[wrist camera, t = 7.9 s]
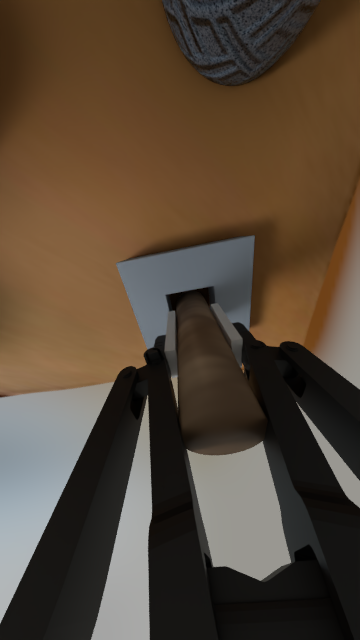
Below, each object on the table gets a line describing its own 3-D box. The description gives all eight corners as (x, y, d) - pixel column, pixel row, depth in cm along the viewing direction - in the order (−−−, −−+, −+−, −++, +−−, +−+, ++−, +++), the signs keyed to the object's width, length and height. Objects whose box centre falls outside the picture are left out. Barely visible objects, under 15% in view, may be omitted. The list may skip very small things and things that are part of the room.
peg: (179, 320, 21) (186, 459, 7) (173, 293, 19) (170, 416, 6) (207, 315, 20) (265, 449, 7) (204, 288, 19) (276, 402, 5)
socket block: (155, 345, 25) (152, 362, 21) (127, 259, 18) (116, 263, 15) (237, 332, 24) (248, 347, 21) (238, 236, 17) (254, 235, 14)
